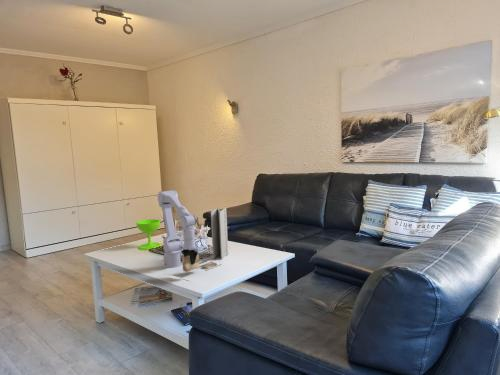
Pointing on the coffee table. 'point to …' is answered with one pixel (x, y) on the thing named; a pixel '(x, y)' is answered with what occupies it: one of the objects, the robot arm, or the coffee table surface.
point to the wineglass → (148, 227)
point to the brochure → (219, 233)
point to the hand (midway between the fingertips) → (190, 263)
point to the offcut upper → (209, 265)
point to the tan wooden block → (190, 263)
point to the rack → (205, 264)
